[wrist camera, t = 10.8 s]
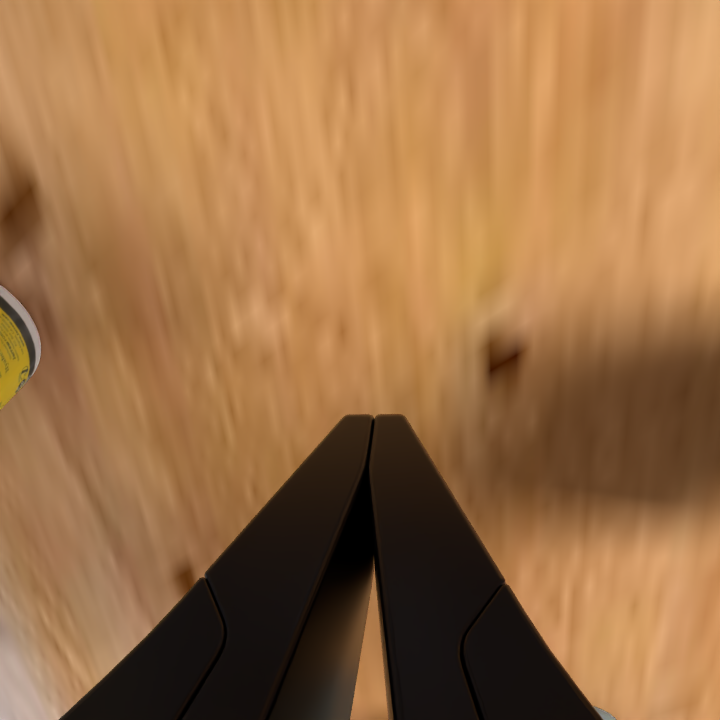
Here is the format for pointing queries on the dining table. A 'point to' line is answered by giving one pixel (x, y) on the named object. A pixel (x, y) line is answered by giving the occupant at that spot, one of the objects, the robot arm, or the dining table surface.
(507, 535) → the dining table surface
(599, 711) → the teal embossed planter
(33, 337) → the supplement bottle
